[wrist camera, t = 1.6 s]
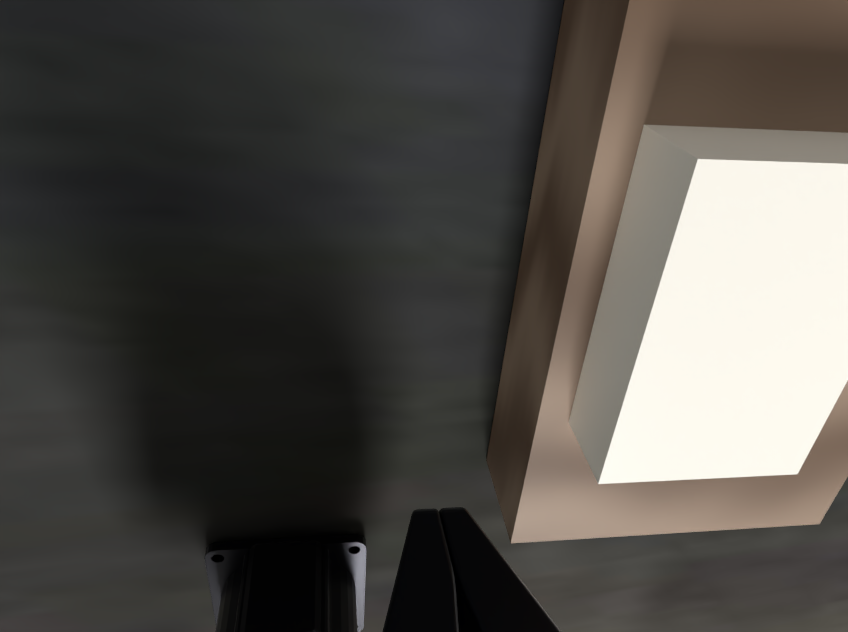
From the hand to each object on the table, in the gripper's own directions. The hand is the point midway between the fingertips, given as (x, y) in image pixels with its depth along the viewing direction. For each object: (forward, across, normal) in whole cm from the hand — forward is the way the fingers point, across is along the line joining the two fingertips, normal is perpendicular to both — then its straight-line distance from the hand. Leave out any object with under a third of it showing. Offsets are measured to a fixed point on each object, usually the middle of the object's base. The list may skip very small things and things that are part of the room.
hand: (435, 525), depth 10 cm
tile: (+7, -8, 0) cm, 11 cm away
